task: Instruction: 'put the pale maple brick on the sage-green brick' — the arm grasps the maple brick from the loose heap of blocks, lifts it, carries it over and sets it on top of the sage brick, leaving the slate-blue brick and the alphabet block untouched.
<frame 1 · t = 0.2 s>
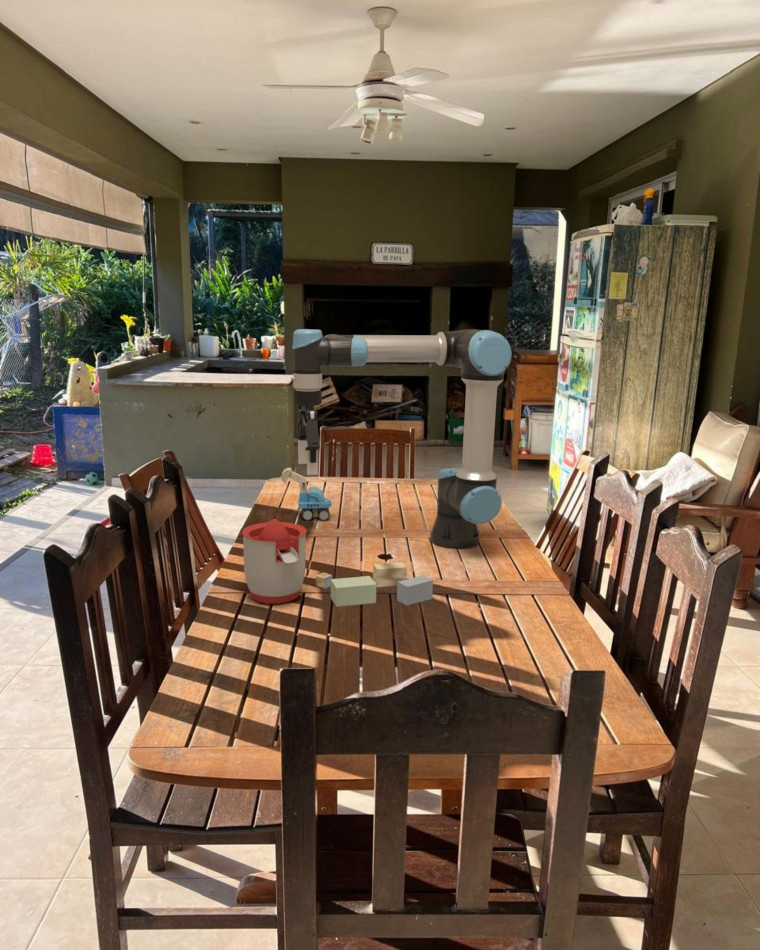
hand: (307, 469, 202), 28 cm above the table, fingers open, 13 cm apart
citrus juicer: (276, 598, 187), on the table
maple brick: (389, 583, 198), on the table
slate brick: (414, 600, 188), on the table
toy excavator: (306, 518, 256), on the table
alphabet block: (324, 586, 195), on the table
sage brick: (353, 600, 186), on the table
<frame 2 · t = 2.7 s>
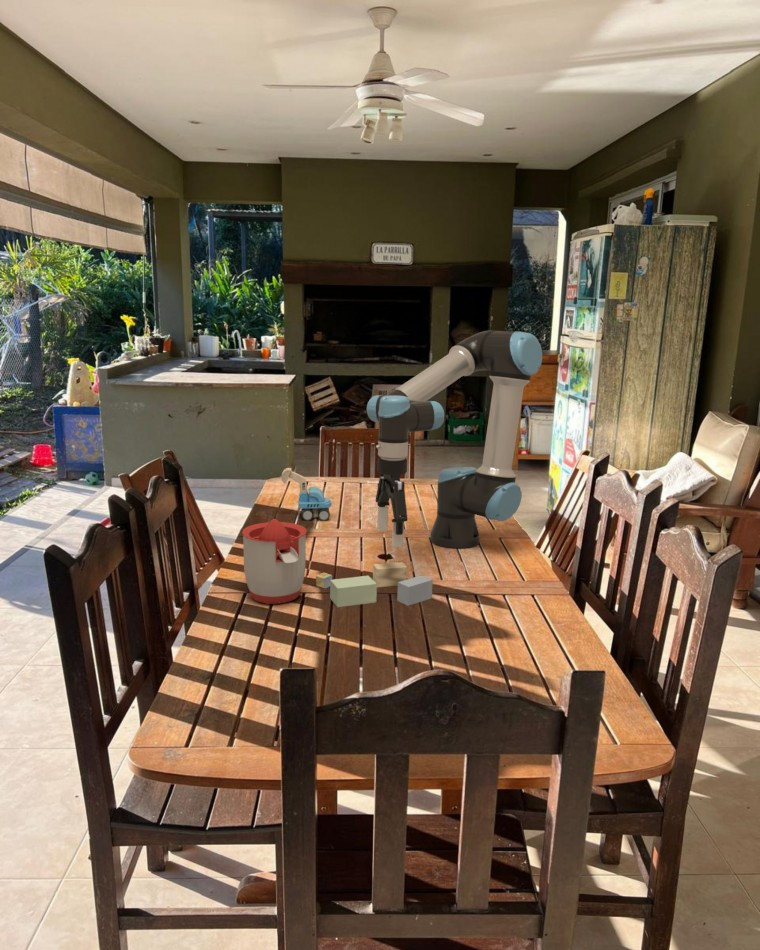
hand: (389, 538, 195), 12 cm above the table, fingers open, 13 cm apart
nothing on the table moved.
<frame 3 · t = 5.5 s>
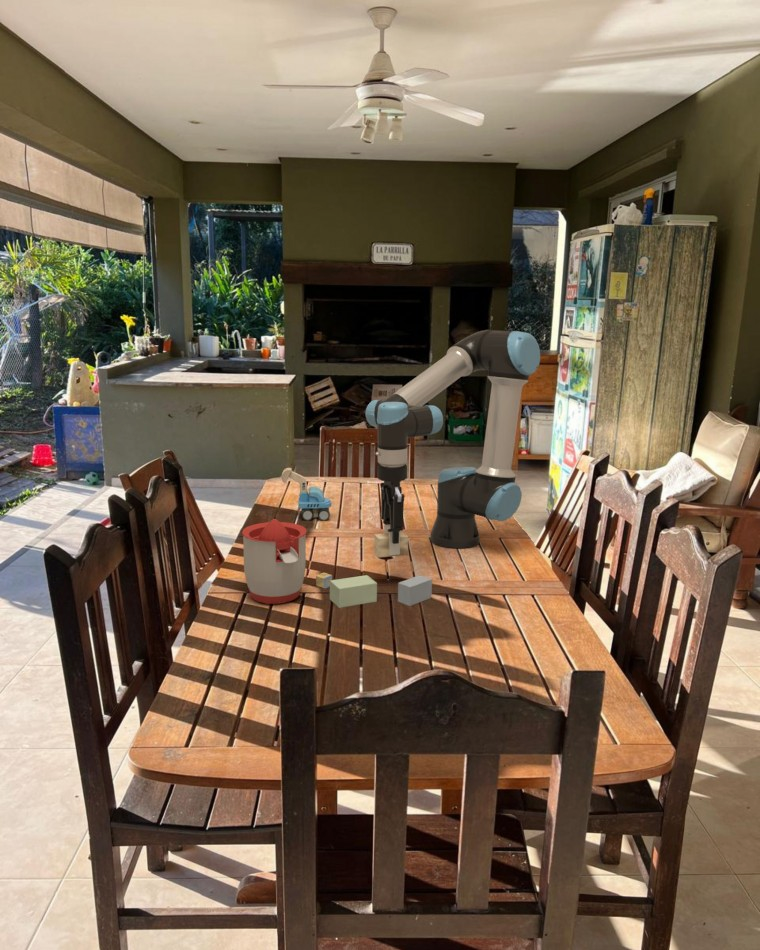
hand: (391, 551, 196), 9 cm above the table, fingers closed on maple brick, 4 cm apart
maple brick: (390, 553, 197), point 8 cm above the table, touching gripper
everything else where it was.
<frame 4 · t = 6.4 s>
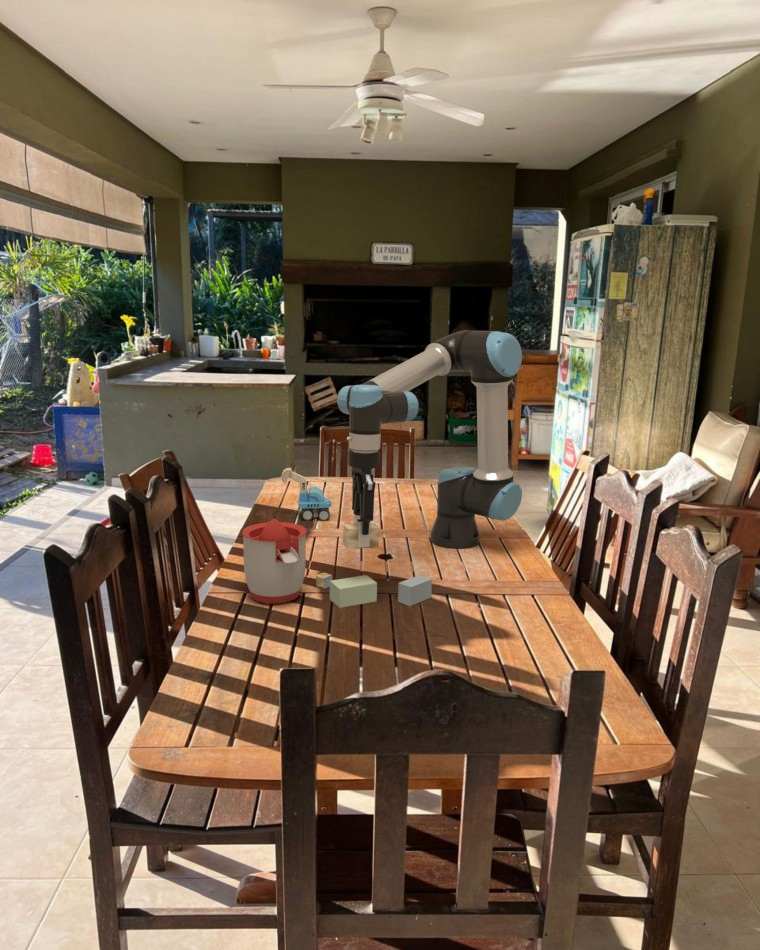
hand: (361, 543, 186), 14 cm above the table, fingers closed on maple brick, 4 cm apart
maple brick: (360, 545, 186), point 13 cm above the table, touching gripper
everything else where it was.
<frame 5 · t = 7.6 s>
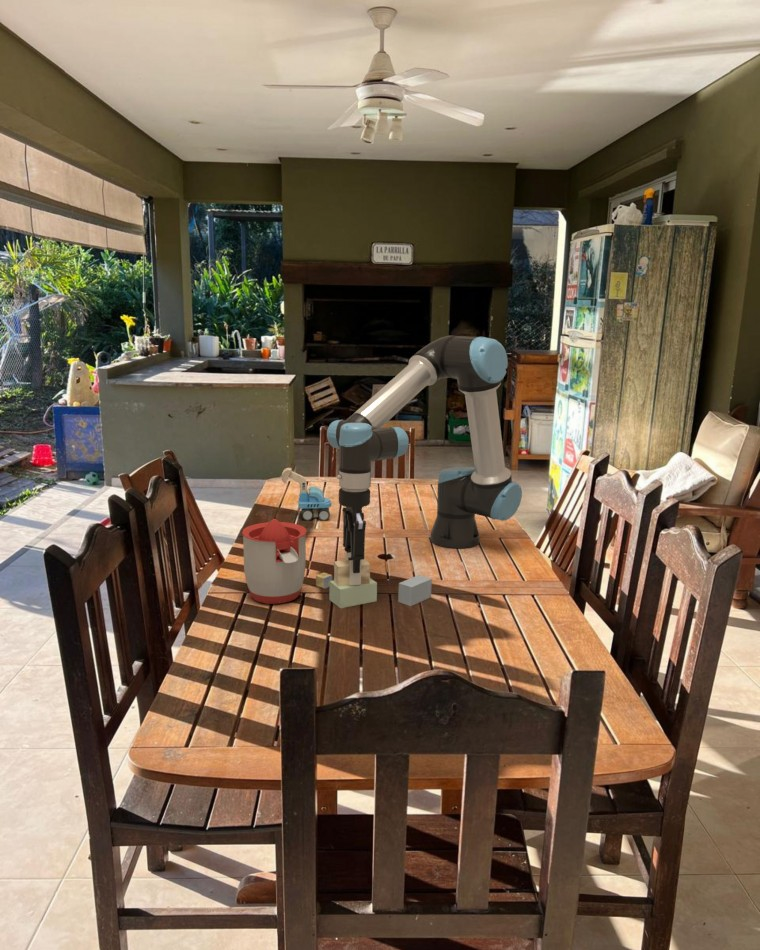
hand: (352, 580, 185), 5 cm above the table, fingers closed on maple brick, 4 cm apart
maple brick: (351, 582, 185), point 5 cm above the table, touching gripper, sage brick
sage brick: (353, 601, 186), on the table, touching gripper, maple brick
everything else where it was.
when the fingers open (5 cm above the table, at t = 7.8 s): maple brick stays where it is, resting on sage brick.
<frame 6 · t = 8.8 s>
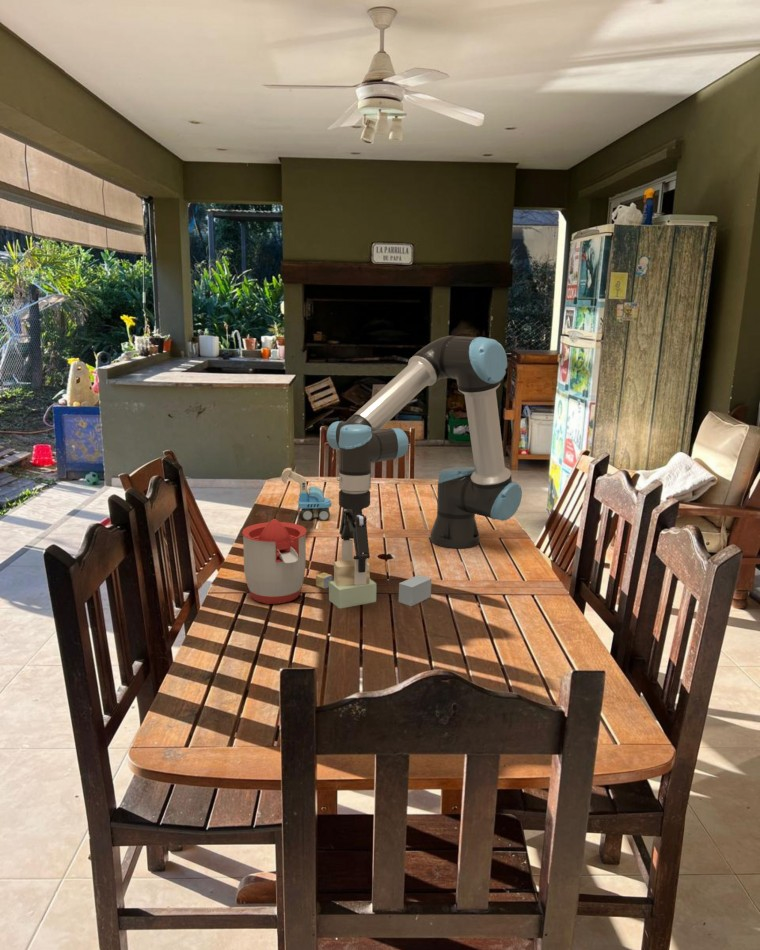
hand: (353, 574, 185), 7 cm above the table, fingers open, 13 cm apart
maple brick: (351, 582, 185), point 5 cm above the table, touching sage brick
sage brick: (352, 601, 186), on the table, touching maple brick
everything else where it was.
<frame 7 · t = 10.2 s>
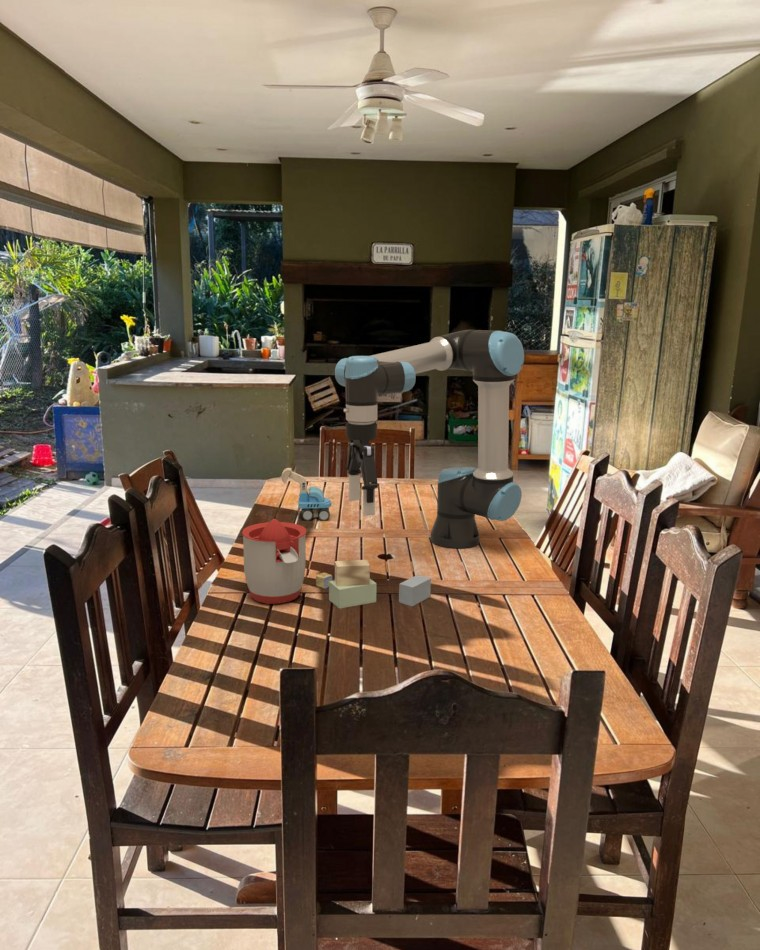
hand: (361, 507, 185), 23 cm above the table, fingers open, 13 cm apart
nothing on the table moved.
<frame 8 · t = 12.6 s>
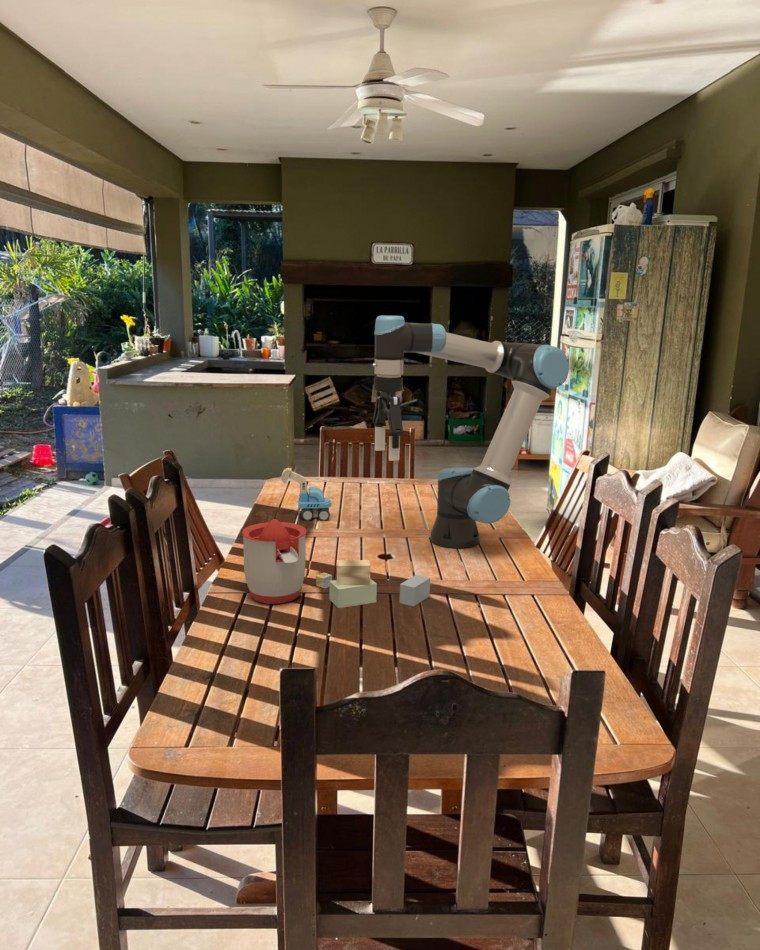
hand: (386, 455, 203), 32 cm above the table, fingers open, 13 cm apart
nothing on the table moved.
at the end: maple brick inside the target area on the sage brick (0.1 cm from its centre), point 5.0 cm above the sage brick's base; alphabet block moved 0.3 cm from its start; slate brick moved 0.2 cm from its start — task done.
